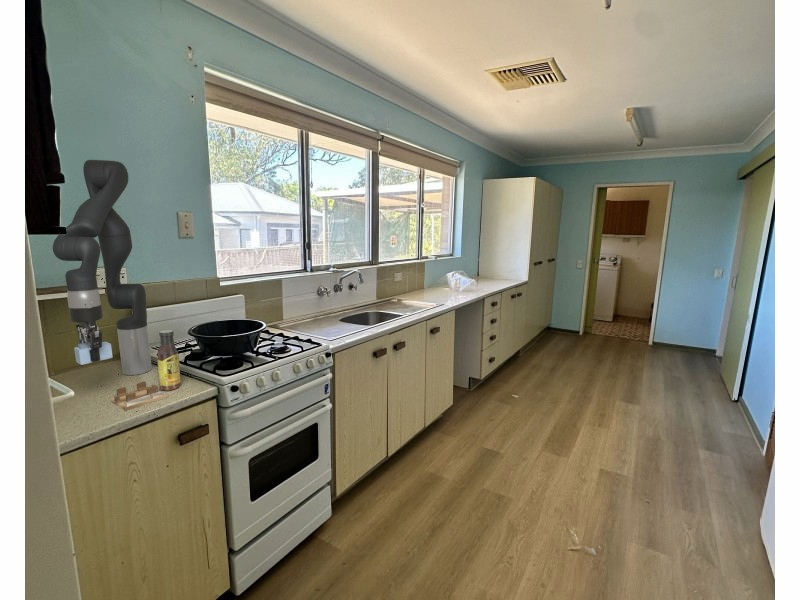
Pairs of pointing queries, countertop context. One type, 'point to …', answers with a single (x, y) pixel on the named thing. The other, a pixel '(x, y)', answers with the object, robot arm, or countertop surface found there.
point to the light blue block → (84, 355)
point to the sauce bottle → (168, 362)
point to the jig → (137, 396)
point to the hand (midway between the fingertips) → (92, 359)
